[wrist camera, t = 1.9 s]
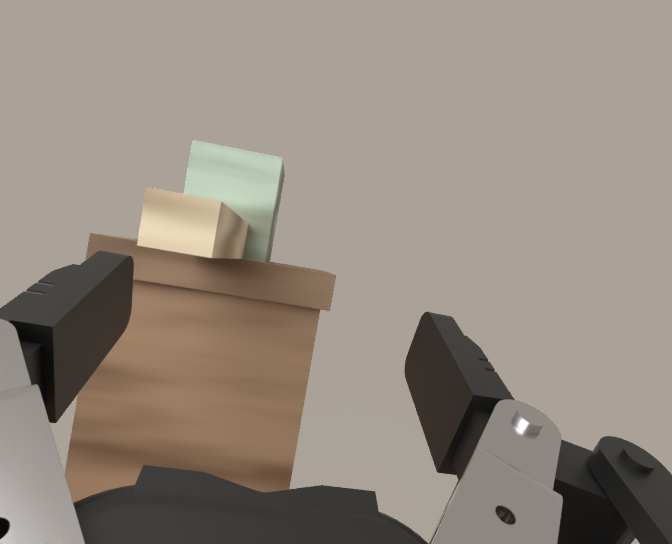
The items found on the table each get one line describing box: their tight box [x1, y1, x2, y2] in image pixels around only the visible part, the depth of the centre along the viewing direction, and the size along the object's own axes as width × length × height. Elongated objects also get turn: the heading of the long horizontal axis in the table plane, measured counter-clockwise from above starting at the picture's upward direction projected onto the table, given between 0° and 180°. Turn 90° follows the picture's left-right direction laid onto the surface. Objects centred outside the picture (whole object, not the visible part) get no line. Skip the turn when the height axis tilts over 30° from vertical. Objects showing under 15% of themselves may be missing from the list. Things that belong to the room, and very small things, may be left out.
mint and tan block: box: [137, 140, 284, 263], centre depth 21 cm, size 14×5×6 cm, turn 6°
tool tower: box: [65, 233, 336, 503], centre depth 27 cm, size 9×13×32 cm
